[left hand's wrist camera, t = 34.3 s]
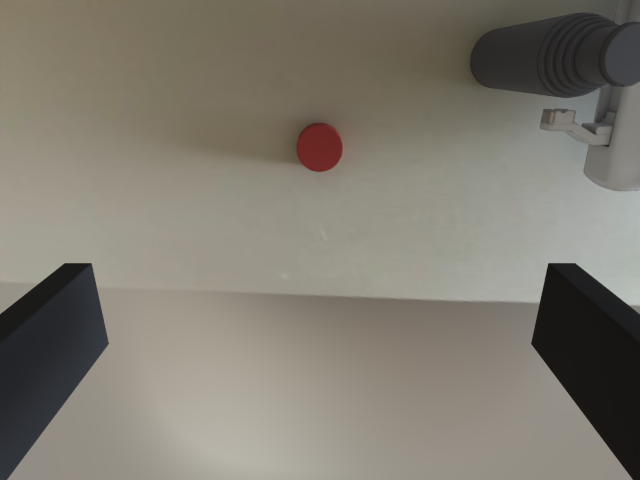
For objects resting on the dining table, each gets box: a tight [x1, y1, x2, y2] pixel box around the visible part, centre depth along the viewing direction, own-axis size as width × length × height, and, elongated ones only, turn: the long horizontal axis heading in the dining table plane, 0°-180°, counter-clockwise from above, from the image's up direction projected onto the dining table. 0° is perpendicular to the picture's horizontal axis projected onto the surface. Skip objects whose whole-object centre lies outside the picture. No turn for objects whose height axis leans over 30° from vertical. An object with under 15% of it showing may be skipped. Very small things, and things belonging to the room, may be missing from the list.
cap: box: [297, 123, 342, 172], centre depth 39 cm, size 4×4×2 cm
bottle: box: [471, 13, 640, 98], centre depth 29 cm, size 5×5×18 cm
